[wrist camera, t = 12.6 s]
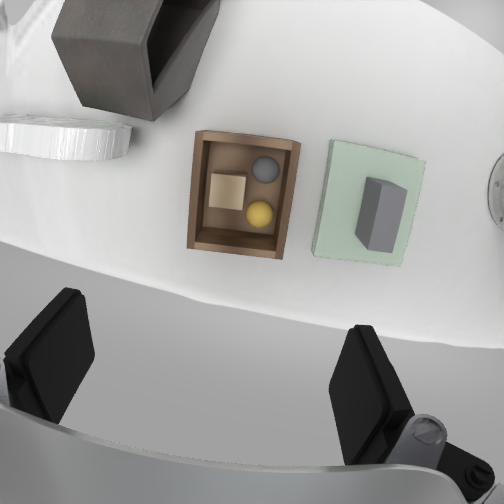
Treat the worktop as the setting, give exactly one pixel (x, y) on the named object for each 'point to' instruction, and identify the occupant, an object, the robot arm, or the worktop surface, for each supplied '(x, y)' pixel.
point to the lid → (367, 204)
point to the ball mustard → (259, 214)
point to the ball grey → (265, 169)
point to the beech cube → (227, 189)
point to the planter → (132, 51)
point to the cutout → (63, 137)
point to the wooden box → (234, 221)
